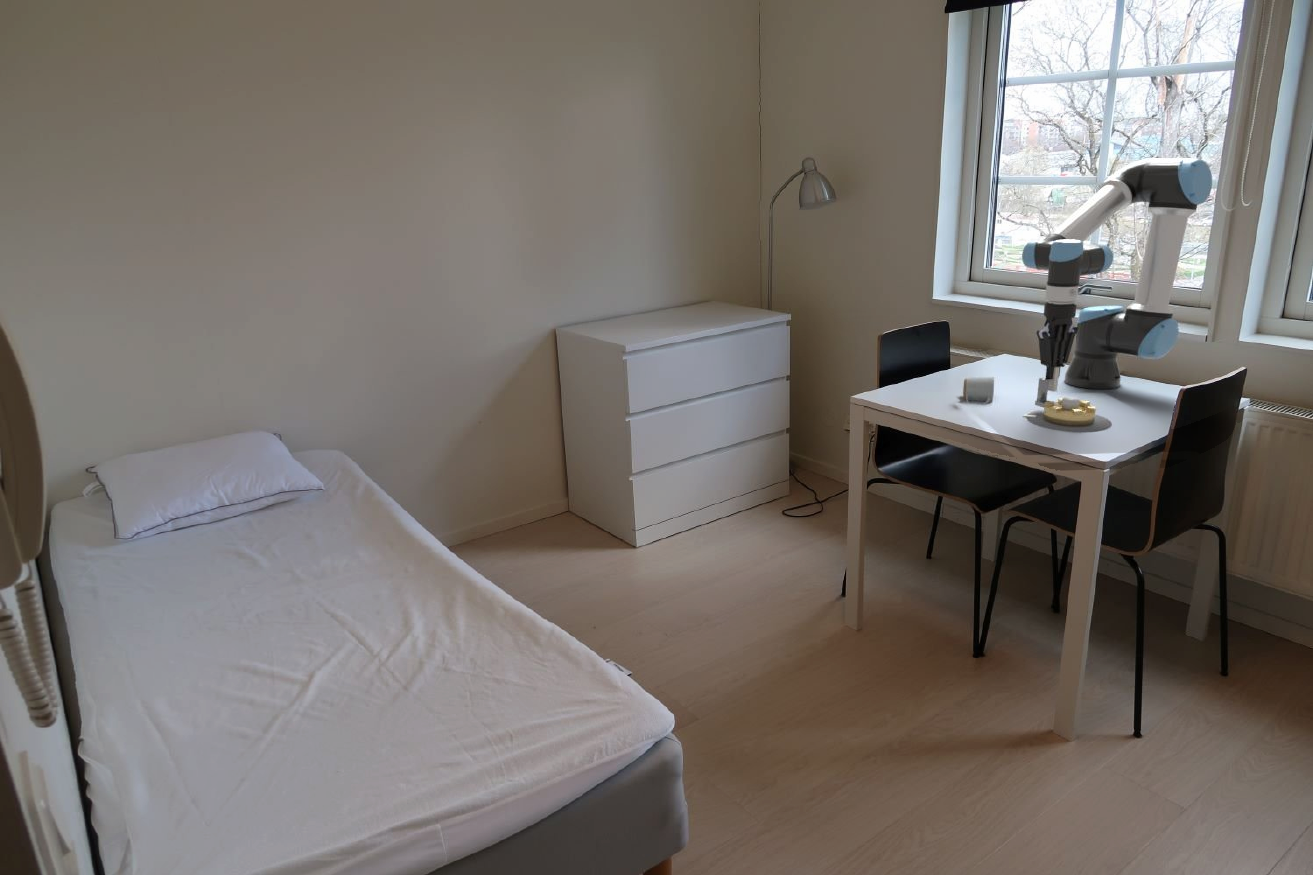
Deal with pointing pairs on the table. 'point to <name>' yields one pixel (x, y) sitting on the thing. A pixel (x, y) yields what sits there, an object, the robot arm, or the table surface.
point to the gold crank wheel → (1061, 415)
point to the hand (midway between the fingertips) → (1051, 390)
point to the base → (1069, 404)
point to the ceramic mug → (979, 389)
